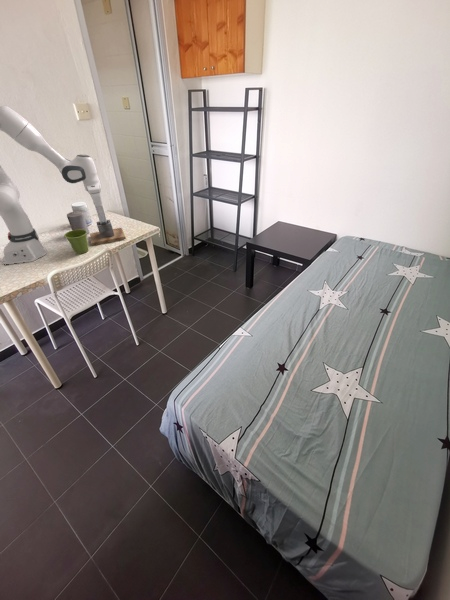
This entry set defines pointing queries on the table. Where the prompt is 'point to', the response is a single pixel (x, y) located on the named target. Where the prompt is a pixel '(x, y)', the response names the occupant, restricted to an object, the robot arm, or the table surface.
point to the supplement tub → (83, 208)
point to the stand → (106, 234)
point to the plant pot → (78, 240)
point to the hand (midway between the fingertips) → (100, 210)
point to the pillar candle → (77, 221)
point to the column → (101, 215)
